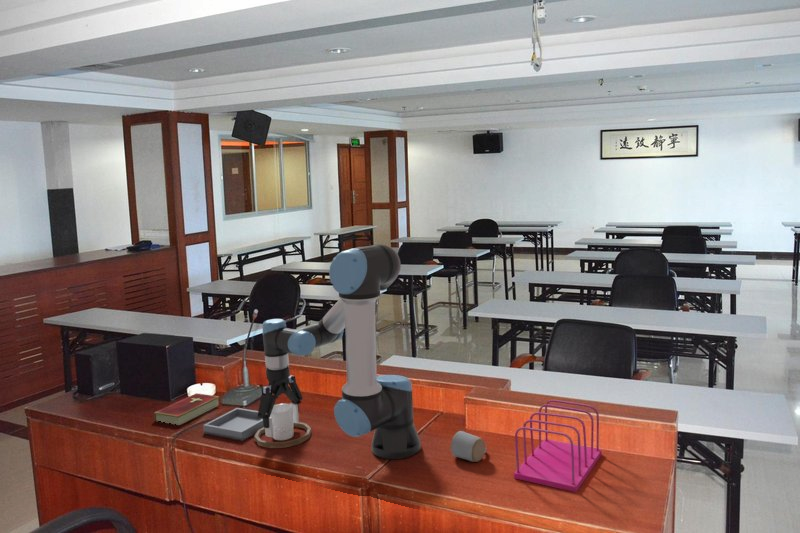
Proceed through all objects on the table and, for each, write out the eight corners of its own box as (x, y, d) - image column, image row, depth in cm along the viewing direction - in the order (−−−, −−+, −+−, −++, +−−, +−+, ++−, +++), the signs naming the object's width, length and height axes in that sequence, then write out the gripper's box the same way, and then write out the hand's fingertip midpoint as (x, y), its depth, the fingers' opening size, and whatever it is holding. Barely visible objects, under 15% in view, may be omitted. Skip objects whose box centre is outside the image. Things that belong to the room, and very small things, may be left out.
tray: (274, 421, 232) (274, 413, 231) (242, 440, 217) (241, 432, 216) (237, 415, 239) (237, 407, 239) (203, 433, 225) (203, 425, 224)
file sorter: (513, 479, 181) (512, 425, 179) (544, 444, 202) (543, 395, 200) (576, 493, 172) (575, 436, 170) (602, 455, 193) (601, 403, 191)
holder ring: (305, 446, 209) (305, 442, 209) (249, 449, 210) (249, 444, 210) (314, 424, 227) (314, 420, 227) (262, 426, 228) (262, 422, 228)
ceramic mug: (473, 466, 190) (473, 441, 188) (450, 460, 195) (449, 435, 194) (493, 454, 198) (492, 429, 197) (470, 447, 203) (469, 423, 202)
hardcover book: (154, 422, 238) (153, 411, 238) (196, 402, 257) (195, 392, 256) (179, 427, 233) (178, 415, 232) (220, 406, 251) (219, 395, 251)
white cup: (270, 434, 221) (267, 405, 220) (293, 430, 223) (291, 401, 222) (272, 443, 214) (270, 413, 212) (297, 438, 216) (294, 409, 214)
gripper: (293, 355, 227) (297, 414, 230) (242, 376, 207) (248, 441, 210) (310, 357, 223) (314, 418, 226) (259, 379, 203) (265, 445, 206)
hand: (282, 429), depth 218 cm, fingers open, 12 cm apart
